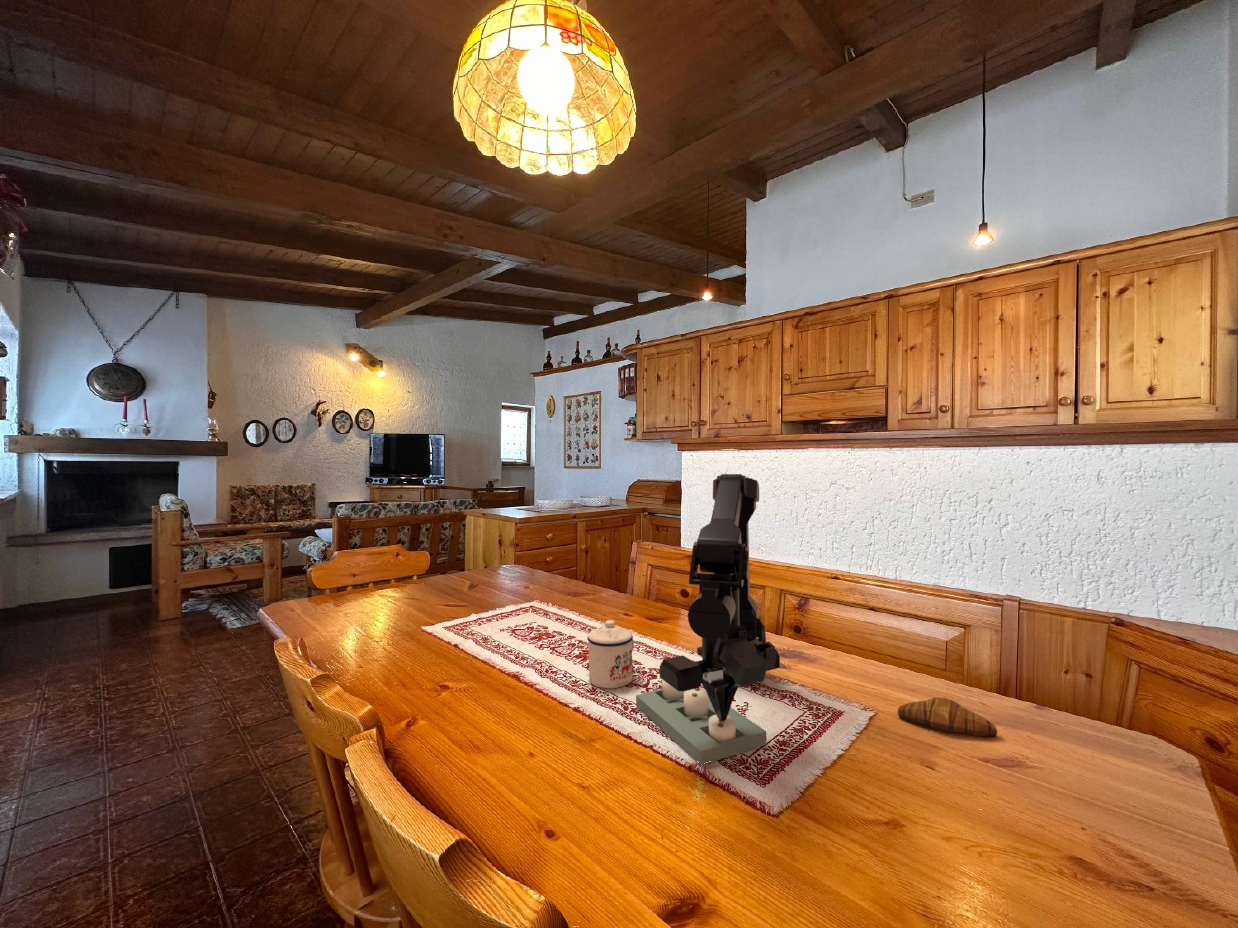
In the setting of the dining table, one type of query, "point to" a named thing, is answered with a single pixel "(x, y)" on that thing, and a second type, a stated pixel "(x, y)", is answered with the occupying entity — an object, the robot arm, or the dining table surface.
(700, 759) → the board
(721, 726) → the button three
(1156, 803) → the dining table surface
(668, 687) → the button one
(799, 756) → the dining table surface
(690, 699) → the button two
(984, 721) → the croissant
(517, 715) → the dining table surface
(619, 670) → the teacup with lid
